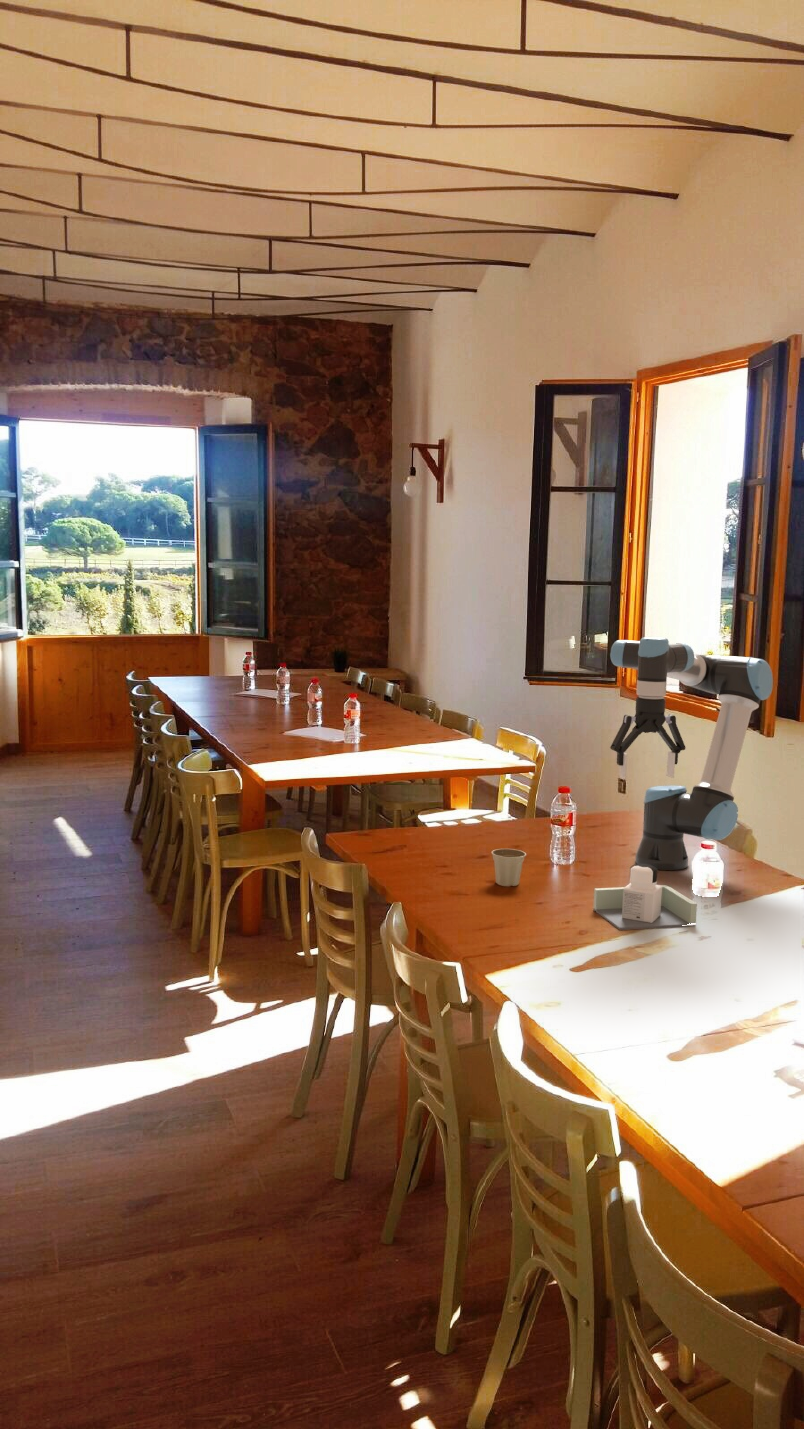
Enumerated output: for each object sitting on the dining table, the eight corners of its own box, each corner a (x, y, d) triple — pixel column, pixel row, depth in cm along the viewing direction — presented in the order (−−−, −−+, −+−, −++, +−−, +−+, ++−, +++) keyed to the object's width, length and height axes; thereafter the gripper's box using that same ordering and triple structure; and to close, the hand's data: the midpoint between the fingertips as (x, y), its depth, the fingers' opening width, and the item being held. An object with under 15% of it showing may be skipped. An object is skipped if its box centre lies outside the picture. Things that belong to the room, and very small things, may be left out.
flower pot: (524, 879, 315) (526, 849, 314) (525, 889, 306) (526, 858, 305) (490, 878, 316) (491, 847, 315) (489, 887, 307) (491, 856, 306)
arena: (665, 906, 294) (666, 885, 293) (695, 925, 279) (696, 903, 278) (593, 909, 289) (594, 888, 289) (619, 930, 274) (620, 907, 273)
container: (630, 910, 288) (633, 860, 286) (660, 915, 284) (663, 864, 283) (621, 918, 281) (624, 867, 279) (652, 923, 278) (655, 871, 276)
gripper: (687, 695, 304) (683, 773, 306) (600, 695, 298) (596, 775, 301) (701, 698, 296) (696, 778, 299) (612, 698, 291) (608, 780, 293)
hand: (646, 777), depth 300 cm, fingers open, 13 cm apart
